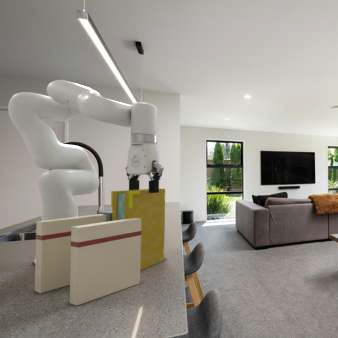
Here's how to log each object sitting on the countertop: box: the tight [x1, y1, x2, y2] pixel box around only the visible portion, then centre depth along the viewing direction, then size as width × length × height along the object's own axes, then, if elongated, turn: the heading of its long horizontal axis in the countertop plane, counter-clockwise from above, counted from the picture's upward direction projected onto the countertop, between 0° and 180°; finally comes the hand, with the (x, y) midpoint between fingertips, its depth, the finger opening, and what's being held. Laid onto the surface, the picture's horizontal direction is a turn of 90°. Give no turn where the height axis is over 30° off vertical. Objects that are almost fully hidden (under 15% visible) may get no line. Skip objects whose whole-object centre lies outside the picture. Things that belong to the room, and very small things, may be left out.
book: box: [110, 188, 166, 271], centre depth 95 cm, size 17×7×25 cm, turn 168°
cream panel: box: [69, 218, 141, 306], centre depth 74 cm, size 3×15×18 cm, turn 156°
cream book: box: [34, 213, 106, 294], centre depth 80 cm, size 3×15×18 cm, turn 156°
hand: (143, 192), depth 95 cm, fingers open, 9 cm apart
